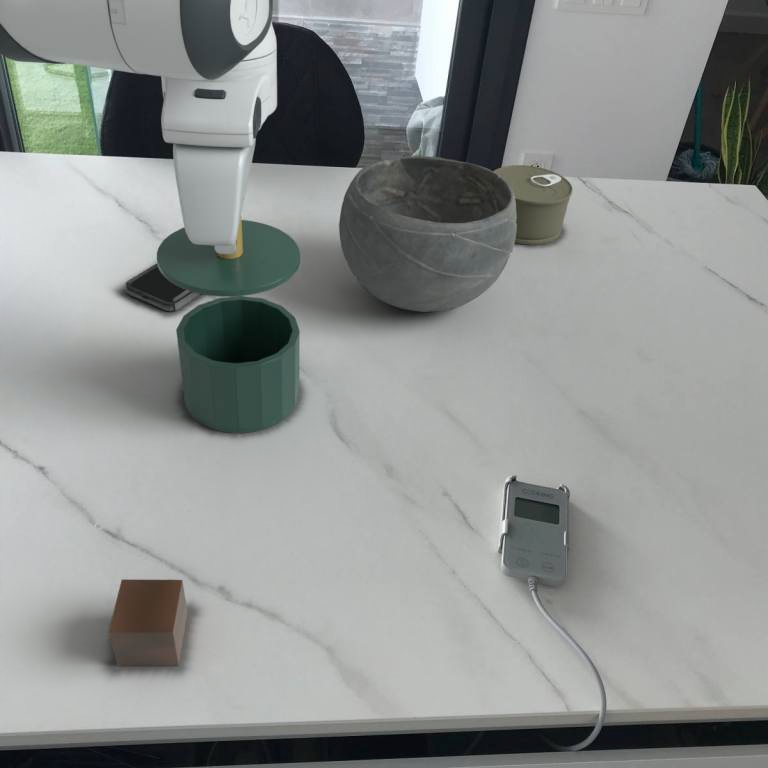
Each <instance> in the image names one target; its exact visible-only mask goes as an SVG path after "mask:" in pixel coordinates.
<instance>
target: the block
mask: <svg viewBox="0 0 768 768" xmlns="http://www.w3.org/2000/svg"><path fill="white" fill-rule="evenodd" d="M184 588H185V587H184V581H183V579H125V578H124V579H121V581H120V584H119V589H118V593H117V597H116V600H115V603H114V608H113V612H112V617H111V621H110V624H109V629H108V636H109V640H110V643H111V648H112V650H113V651H112V652H113V654H114V659H115V662H116V665H117V667H178V666H180V661H181V656H182V649H183V642H184V638H185V637H184V636H185V630H186V627H187V626H186V625H187V621H188V608H187V600H186V594H185V589H184Z"/></svg>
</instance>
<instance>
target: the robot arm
mask: <svg viewBox="0 0 768 768" xmlns="http://www.w3.org/2000/svg"><path fill="white" fill-rule="evenodd" d="M273 11H274V0H0V55H1V56H3V57H5V58H6V59H9V60H12V61H14V62H19V63H20V62H22V63H37V64H39V63H40V64H51V65H52V64H53V65H65V64H68V65H75V66H76V65H77V66H83V67H89V68H97V69H103V70H105V69H106V70H110V71H118V72H125V73H131V74H138V75H147V76H155V77H160V78H161V88H162V89H161V90H162V98H163V99H162V104H161V105H162V106H161V107H162V108H161V115H160V116H161V118H160V122H161V132H162V138H163V141H164V142H165V143H168V144H173V146H172V156H173V157H172V159H173V169H174V176H175V182H176V188H177V193H178V200H179V205H180V206H179V207H180V211H181V217H182V222H183V228H184V227H185V231H186V233H187V236H188V238H189V239H190V241H191V242H192V243H194V244H198V245H211V246H214V247H215V251H216V252H217V253H219V254H234V253H235V251H236V246H237V235H238V228H239V223H240V218H241V217H242V214H243V213H242V212H243V208H244V202H245V198H246V194H247V188H248V183H249V178H250V173H251V169H252V163H253V158H254V154H255V153H254V152H255V147H256V141H257V140H256V139H257V135H258V133H259V131H260V130H261V129H262V127H263V124H264V123H265V121H266V120H267V118H268V117H269V116H271V115H272V114H273V113H274V112H275V111H276V110H277V107H278V67H277V66H278V65H277V64H278V61H277V60H278V58H277V56H278V54H277V53H278V51H277V50H278V46H277V45H278V43H277V36H276V33H275V29H274V26H273V13H274V12H273Z"/></svg>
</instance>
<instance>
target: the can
mask: <svg viewBox="0 0 768 768" xmlns="http://www.w3.org/2000/svg"><path fill="white" fill-rule="evenodd" d="M492 171H493V172H495V173H496V174H498V175H500V177H502V178H503V179H504V180H505V181H506V182H507V183H508V184H509V185H510V186H511V188H512V190H513V193H514V196H515V201H516V213H517V221H516V224H517V231H516V239H515V243H514V244H520V245H526V246H528V245H529V246H537V245H538V246H539V245H544V244H548V243H552V242H554V241H555V240H557V239H558V238H559V237H560V235H561V233H562V228H563V225H564V220H565V217H566V213H567V209H568V205H569V201H570V198H571V196H572V195H573V186H572V184H571V182H569V180H568V179H566V177H564V176H563V175H561V174H559V173H557V172H555V171H552V170H549V169H546V168H543V167H539V166H534V165H533V166H532V165H525V164H524V165H523V164H514V165H505V166H502V167H499V168H496V169H494V170H492Z"/></svg>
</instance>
